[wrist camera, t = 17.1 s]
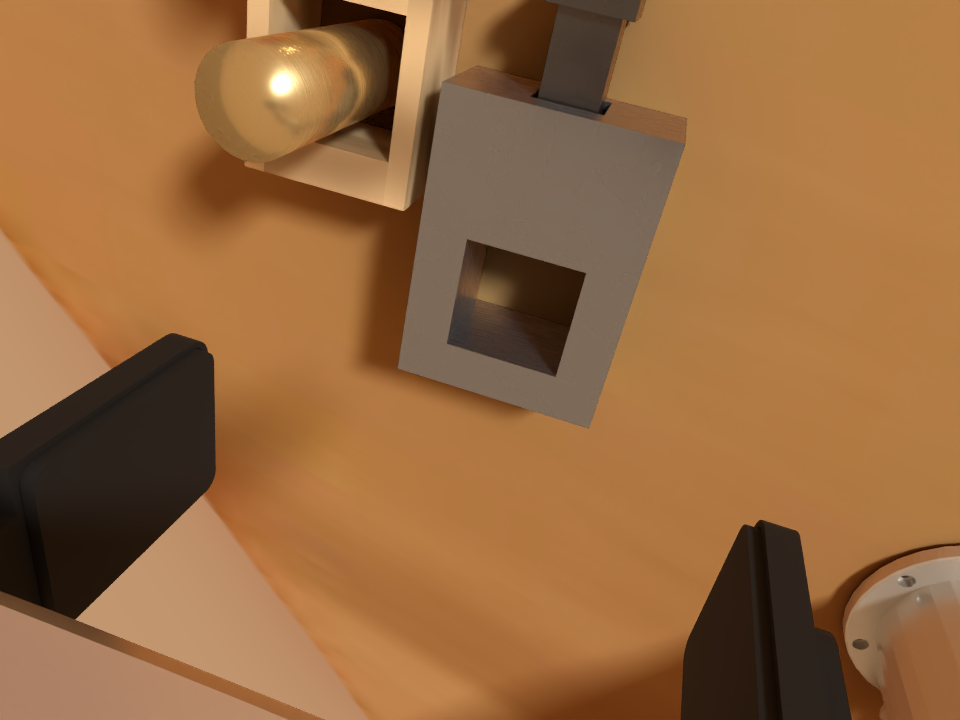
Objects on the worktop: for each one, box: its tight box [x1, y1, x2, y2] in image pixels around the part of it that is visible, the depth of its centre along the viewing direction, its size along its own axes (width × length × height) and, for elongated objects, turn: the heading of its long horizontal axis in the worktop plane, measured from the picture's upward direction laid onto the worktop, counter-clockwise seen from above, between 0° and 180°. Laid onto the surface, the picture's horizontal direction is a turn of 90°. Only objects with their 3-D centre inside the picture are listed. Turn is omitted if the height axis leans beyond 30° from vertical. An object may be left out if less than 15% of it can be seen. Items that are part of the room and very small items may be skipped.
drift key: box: [538, 0, 646, 115], centre depth 31 cm, size 10×4×4 cm, turn 169°
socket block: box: [398, 66, 687, 429], centre depth 34 cm, size 14×10×6 cm
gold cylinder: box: [195, 19, 404, 163], centre depth 30 cm, size 4×4×12 cm
